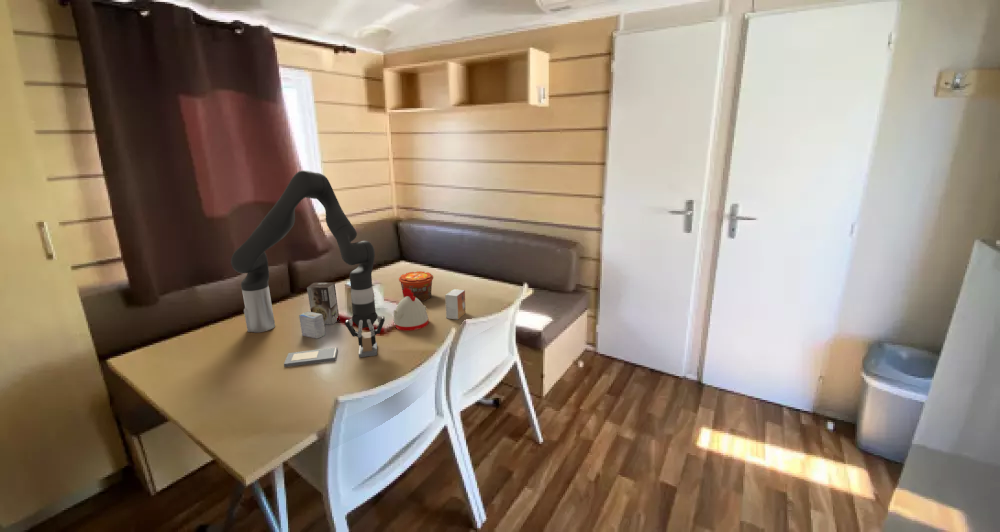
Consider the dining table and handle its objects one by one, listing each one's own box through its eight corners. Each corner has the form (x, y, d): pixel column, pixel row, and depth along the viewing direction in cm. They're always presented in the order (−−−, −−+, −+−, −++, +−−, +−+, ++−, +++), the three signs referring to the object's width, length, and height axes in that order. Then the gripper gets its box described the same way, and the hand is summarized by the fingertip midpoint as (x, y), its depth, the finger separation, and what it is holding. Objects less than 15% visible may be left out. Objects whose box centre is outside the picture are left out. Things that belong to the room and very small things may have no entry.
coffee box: (340, 318, 184) (335, 282, 180) (332, 324, 178) (328, 287, 174) (319, 318, 185) (314, 281, 181) (311, 324, 179) (306, 286, 175)
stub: (358, 357, 151) (357, 341, 149) (359, 347, 158) (358, 331, 157) (376, 355, 152) (375, 338, 151) (377, 345, 160) (375, 329, 158)
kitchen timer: (415, 314, 188) (413, 281, 184) (435, 323, 179) (433, 288, 175) (387, 323, 179) (384, 289, 175) (405, 333, 170) (403, 297, 165)
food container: (431, 303, 201) (430, 280, 198) (396, 303, 201) (395, 281, 198) (436, 291, 216) (435, 270, 214) (404, 291, 217) (402, 270, 214)
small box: (458, 320, 182) (457, 296, 179) (445, 318, 184) (444, 294, 181) (466, 313, 189) (465, 290, 186) (454, 311, 191) (453, 288, 188)
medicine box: (325, 334, 169) (323, 313, 167) (316, 339, 165) (313, 318, 163) (311, 331, 173) (308, 310, 170) (301, 335, 169) (298, 314, 166)
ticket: (284, 367, 145) (283, 363, 145) (288, 356, 153) (288, 352, 152) (335, 360, 149) (335, 357, 149) (337, 350, 157) (337, 346, 156)
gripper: (340, 305, 145) (345, 352, 150) (384, 301, 148) (388, 347, 153) (342, 297, 152) (347, 343, 157) (384, 293, 155) (387, 338, 160)
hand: (367, 345), depth 155 cm, fingers closed on stub, 3 cm apart
